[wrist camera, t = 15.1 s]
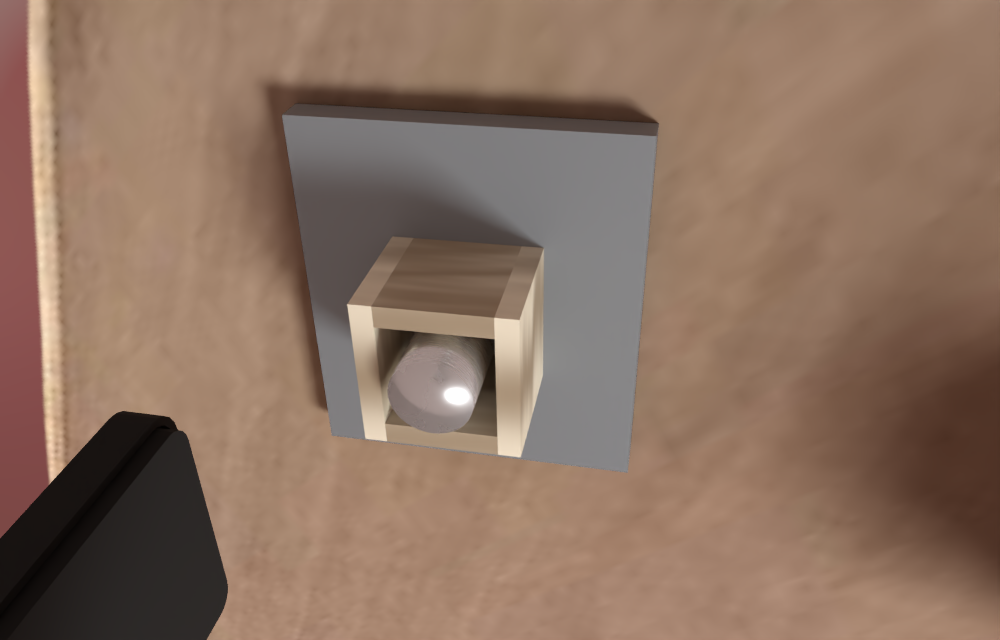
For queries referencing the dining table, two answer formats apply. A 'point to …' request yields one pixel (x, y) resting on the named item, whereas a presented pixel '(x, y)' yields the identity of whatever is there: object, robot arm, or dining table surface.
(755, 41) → the dining table surface
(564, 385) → the grey board
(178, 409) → the dining table surface
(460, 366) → the grey cylinder
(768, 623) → the dining table surface
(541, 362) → the birch collar
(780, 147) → the dining table surface
